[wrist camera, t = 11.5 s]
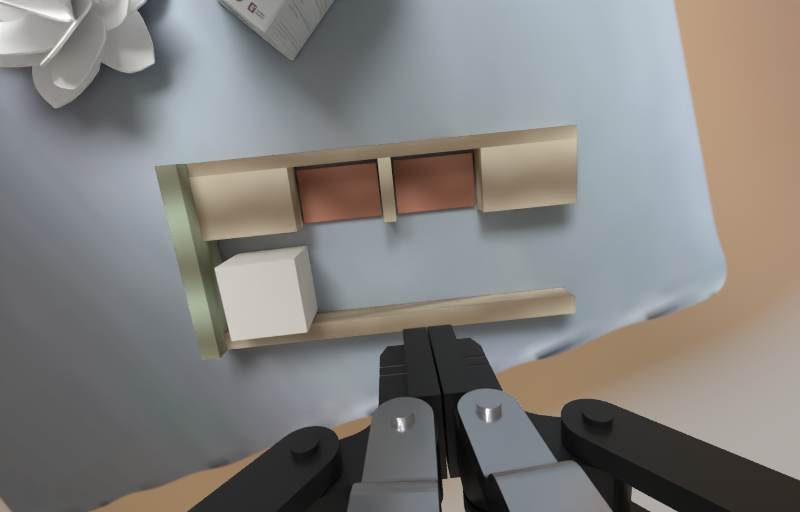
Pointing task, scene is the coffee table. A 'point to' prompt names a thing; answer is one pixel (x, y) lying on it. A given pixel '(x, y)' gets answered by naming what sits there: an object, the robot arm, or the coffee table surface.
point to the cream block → (267, 293)
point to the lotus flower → (73, 42)
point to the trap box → (359, 197)
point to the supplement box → (281, 20)
